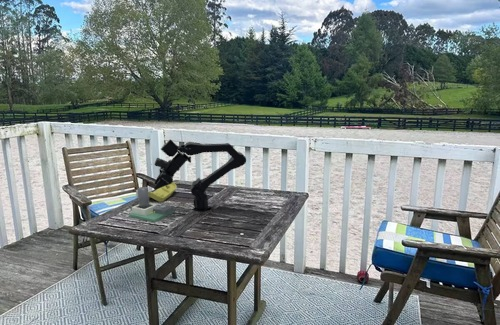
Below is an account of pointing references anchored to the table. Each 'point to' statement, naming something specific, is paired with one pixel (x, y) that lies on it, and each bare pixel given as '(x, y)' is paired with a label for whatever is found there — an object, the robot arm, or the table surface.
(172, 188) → the plastic component
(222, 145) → the robot arm
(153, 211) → the header board
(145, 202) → the plug
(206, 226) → the table surface
